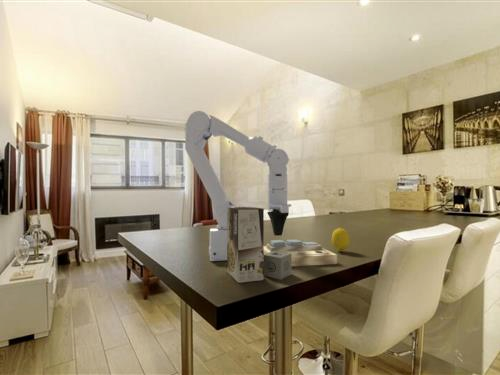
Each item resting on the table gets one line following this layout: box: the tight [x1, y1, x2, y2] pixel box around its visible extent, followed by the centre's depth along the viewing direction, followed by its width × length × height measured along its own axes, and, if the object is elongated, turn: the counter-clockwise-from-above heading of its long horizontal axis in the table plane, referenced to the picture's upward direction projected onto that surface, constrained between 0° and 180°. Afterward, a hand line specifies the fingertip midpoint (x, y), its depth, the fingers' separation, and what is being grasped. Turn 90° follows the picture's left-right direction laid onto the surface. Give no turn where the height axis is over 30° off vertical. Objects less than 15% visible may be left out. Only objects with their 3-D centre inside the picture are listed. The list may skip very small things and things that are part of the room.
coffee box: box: [226, 206, 265, 284], centre depth 63 cm, size 9×6×16 cm
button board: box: [264, 241, 338, 267], centre depth 79 cm, size 18×15×4 cm
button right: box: [301, 241, 318, 246], centre depth 82 cm, size 4×4×2 cm
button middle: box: [285, 239, 303, 246], centre depth 81 cm, size 4×4×2 cm
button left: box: [269, 239, 286, 247], centre depth 80 cm, size 4×4×2 cm
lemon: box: [331, 227, 350, 253], centre depth 88 cm, size 6×6×8 cm
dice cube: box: [264, 251, 293, 280], centre depth 64 cm, size 5×5×5 cm
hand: (277, 235), depth 80 cm, fingers closed
